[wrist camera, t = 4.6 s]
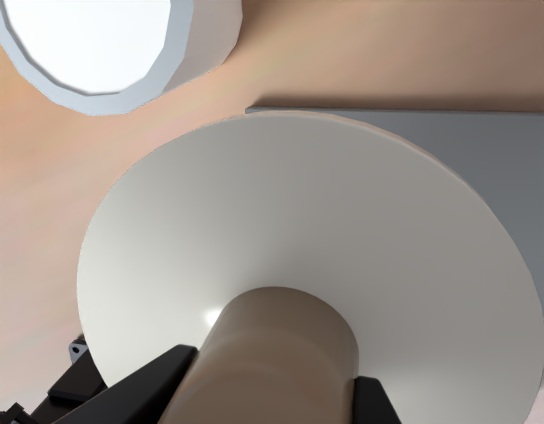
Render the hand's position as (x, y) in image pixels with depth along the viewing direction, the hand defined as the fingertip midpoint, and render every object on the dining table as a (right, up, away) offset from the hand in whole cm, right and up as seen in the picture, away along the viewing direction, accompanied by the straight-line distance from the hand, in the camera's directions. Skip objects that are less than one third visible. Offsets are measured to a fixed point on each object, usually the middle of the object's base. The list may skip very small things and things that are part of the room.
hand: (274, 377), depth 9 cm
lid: (0, +1, +1) cm, 2 cm away
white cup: (-4, +12, +10) cm, 16 cm away
